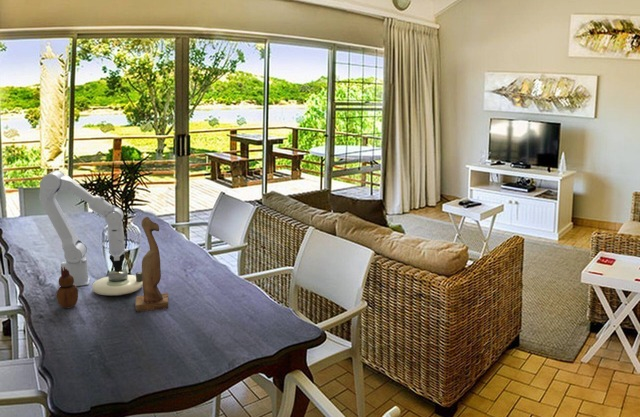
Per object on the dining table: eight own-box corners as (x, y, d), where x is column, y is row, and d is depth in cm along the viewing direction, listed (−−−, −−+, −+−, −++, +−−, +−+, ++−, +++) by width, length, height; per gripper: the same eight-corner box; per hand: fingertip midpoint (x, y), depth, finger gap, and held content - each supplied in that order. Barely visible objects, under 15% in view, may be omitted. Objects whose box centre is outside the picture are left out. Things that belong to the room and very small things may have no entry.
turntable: (90, 297, 206) (89, 285, 205) (94, 280, 223) (93, 269, 222) (143, 292, 212) (142, 280, 211) (142, 276, 228) (142, 265, 227)
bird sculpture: (170, 309, 200) (169, 220, 194) (135, 312, 196) (133, 221, 190) (167, 298, 211) (166, 212, 204) (134, 301, 207) (131, 214, 200)
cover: (108, 282, 217) (107, 275, 216) (109, 276, 223) (108, 270, 223) (127, 280, 219) (127, 274, 218) (128, 275, 225) (127, 268, 225)
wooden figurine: (65, 311, 197) (61, 269, 193) (54, 307, 200) (50, 266, 196) (82, 304, 202) (78, 264, 199) (72, 301, 205) (68, 261, 202)
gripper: (126, 243, 217) (129, 277, 220) (127, 233, 230) (129, 266, 233) (107, 245, 215) (109, 279, 218) (108, 235, 228) (111, 267, 231)
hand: (118, 272), depth 225 cm, fingers closed
